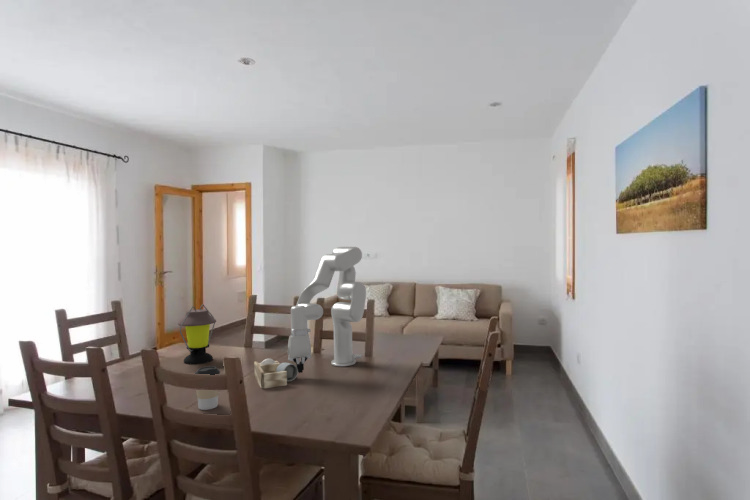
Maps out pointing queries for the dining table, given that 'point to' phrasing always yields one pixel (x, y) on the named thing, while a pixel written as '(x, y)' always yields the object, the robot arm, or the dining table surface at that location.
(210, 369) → the coffee cup
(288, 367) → the ceramic mug
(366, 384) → the dining table surface
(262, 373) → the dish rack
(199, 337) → the lantern
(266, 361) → the white plate
